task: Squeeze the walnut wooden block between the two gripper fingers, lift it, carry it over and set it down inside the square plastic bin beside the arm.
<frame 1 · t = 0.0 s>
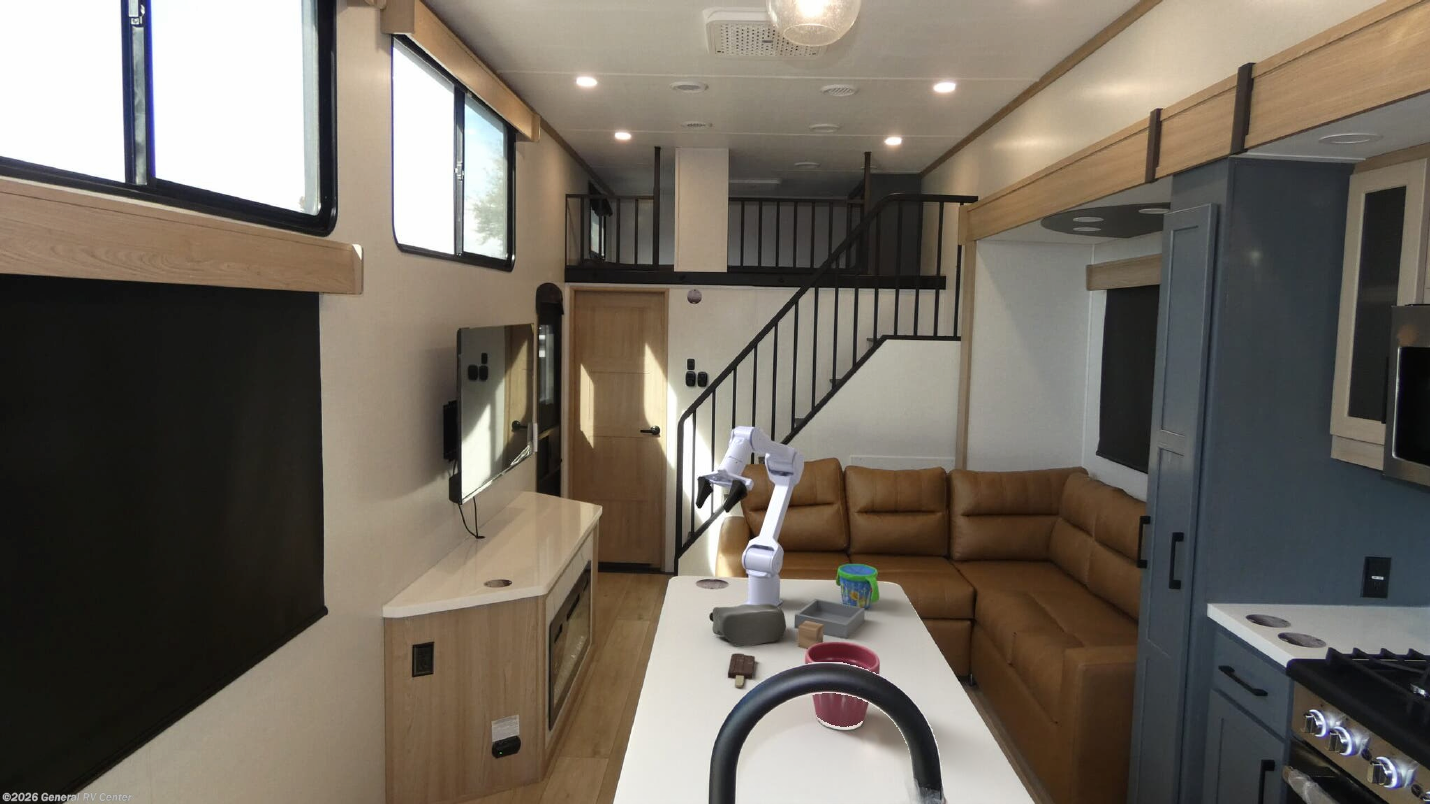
hand: (711, 508, 188), 32 cm above the countertop, tool tilted 50°, fingers open, 7 cm apart
grey rounded lump: (746, 637, 193), on the countertop
plant pot: (840, 720, 153), on the countertop
ice cream bar: (740, 675, 173), on the countertop
walnut block: (810, 645, 188), on the countertop
snack cup: (856, 606, 216), on the countertop
bin: (829, 624, 202), on the countertop
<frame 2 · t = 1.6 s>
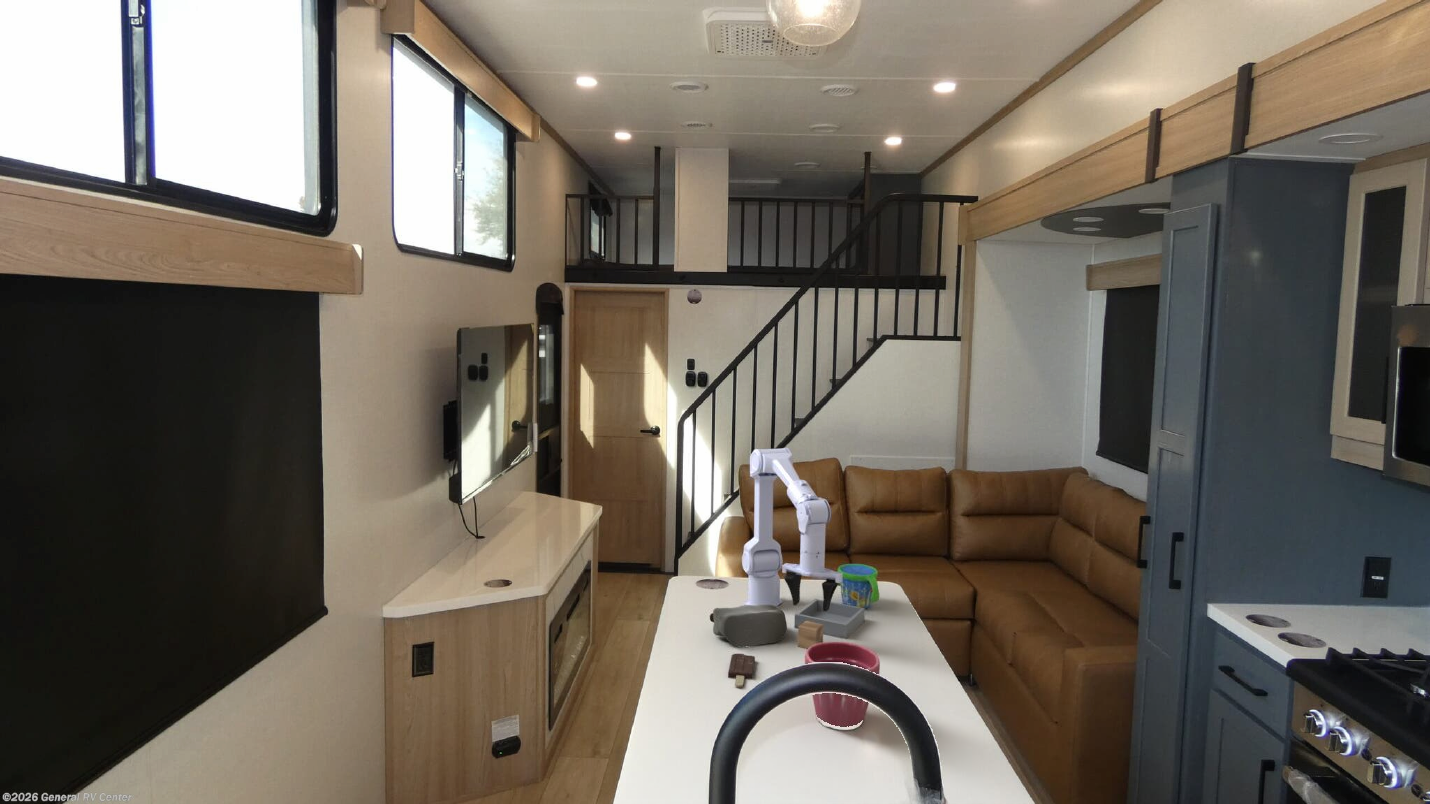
hand: (811, 606, 187), 9 cm above the countertop, tool pointing down, fingers open, 7 cm apart
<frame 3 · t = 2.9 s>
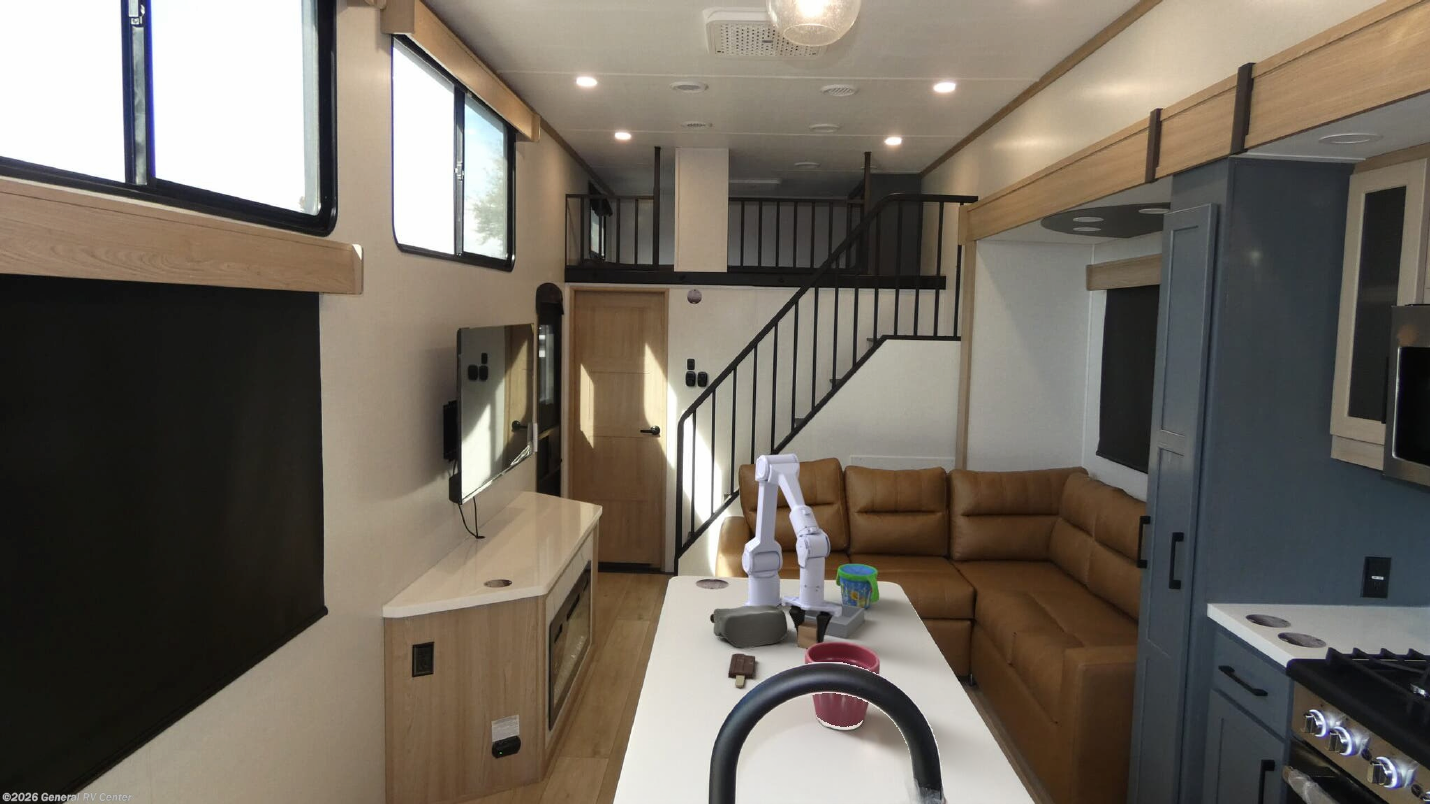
hand: (810, 639, 188), 1 cm above the countertop, tool pointing down, fingers closed on walnut block, 4 cm apart
walnut block: (810, 645, 188), on the countertop, touching gripper
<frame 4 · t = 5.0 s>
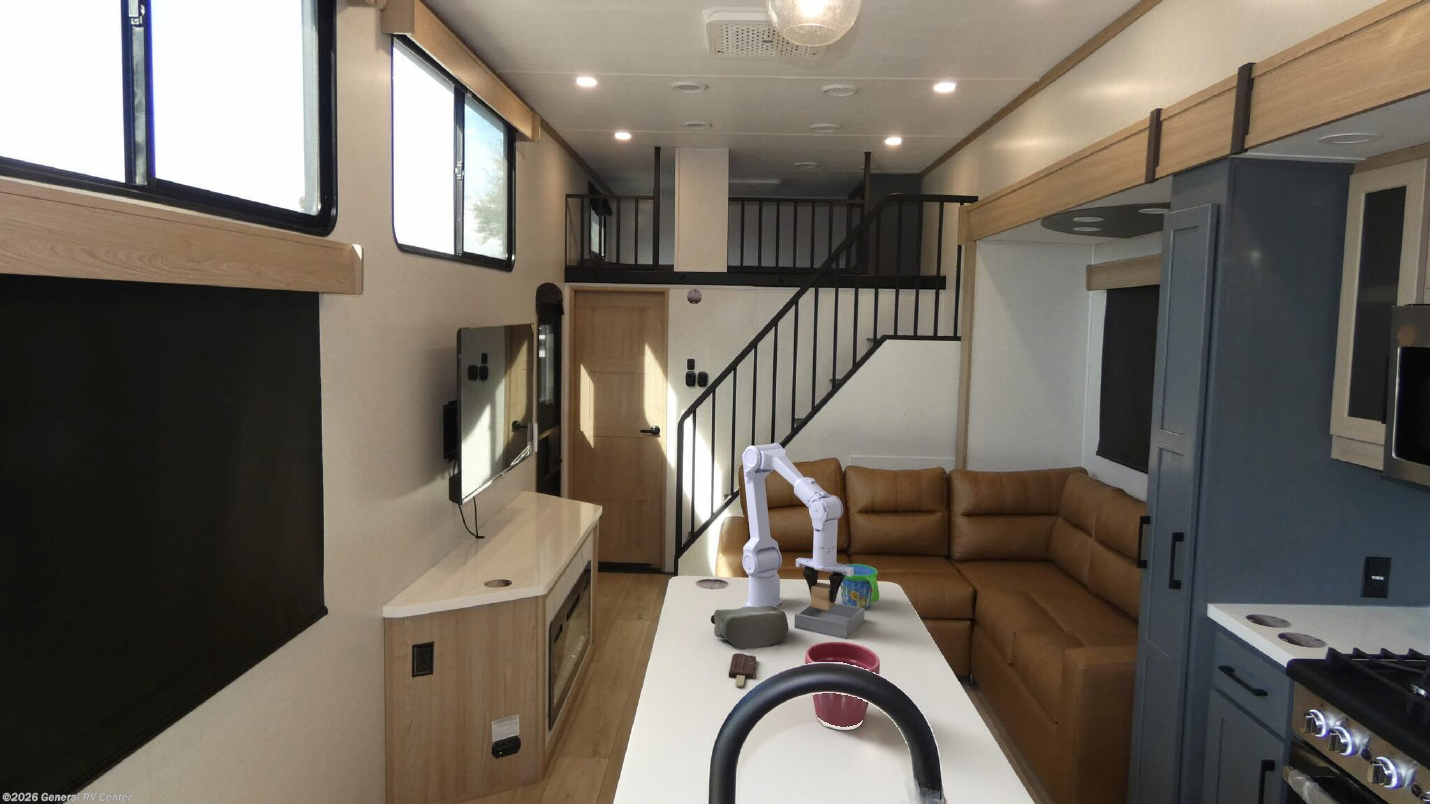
hand: (823, 599, 196), 8 cm above the countertop, tool pointing down, fingers closed on walnut block, 4 cm apart
walnut block: (822, 605, 196), point 7 cm above the countertop, touching gripper
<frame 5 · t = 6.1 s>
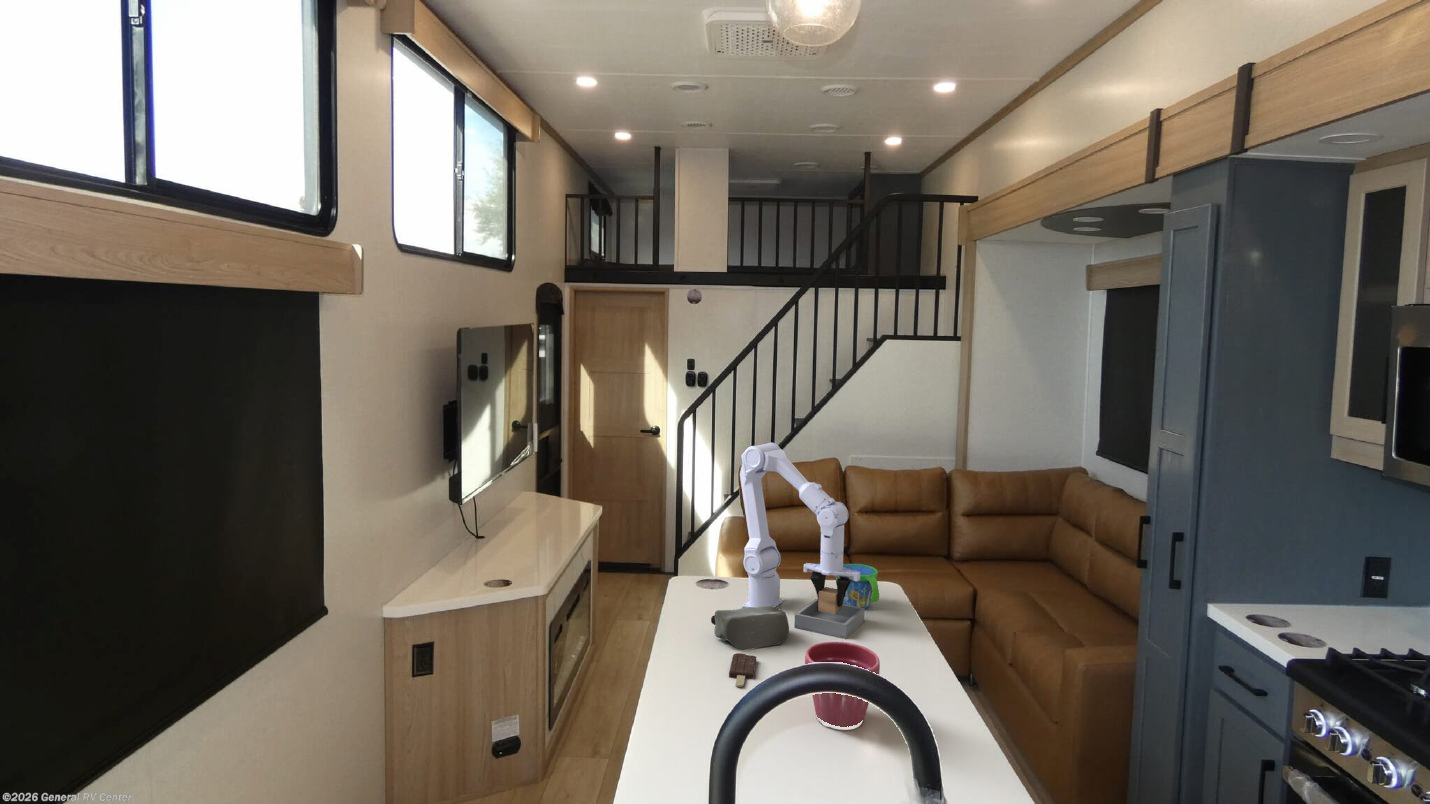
hand: (830, 603, 201), 6 cm above the countertop, tool pointing down, fingers closed on walnut block, 4 cm apart
walnut block: (829, 610, 201), point 4 cm above the countertop, touching gripper
when the fingers open (4 cm above the countertop, at t = 7.0 s): walnut block drops 1 cm, resting on bin.
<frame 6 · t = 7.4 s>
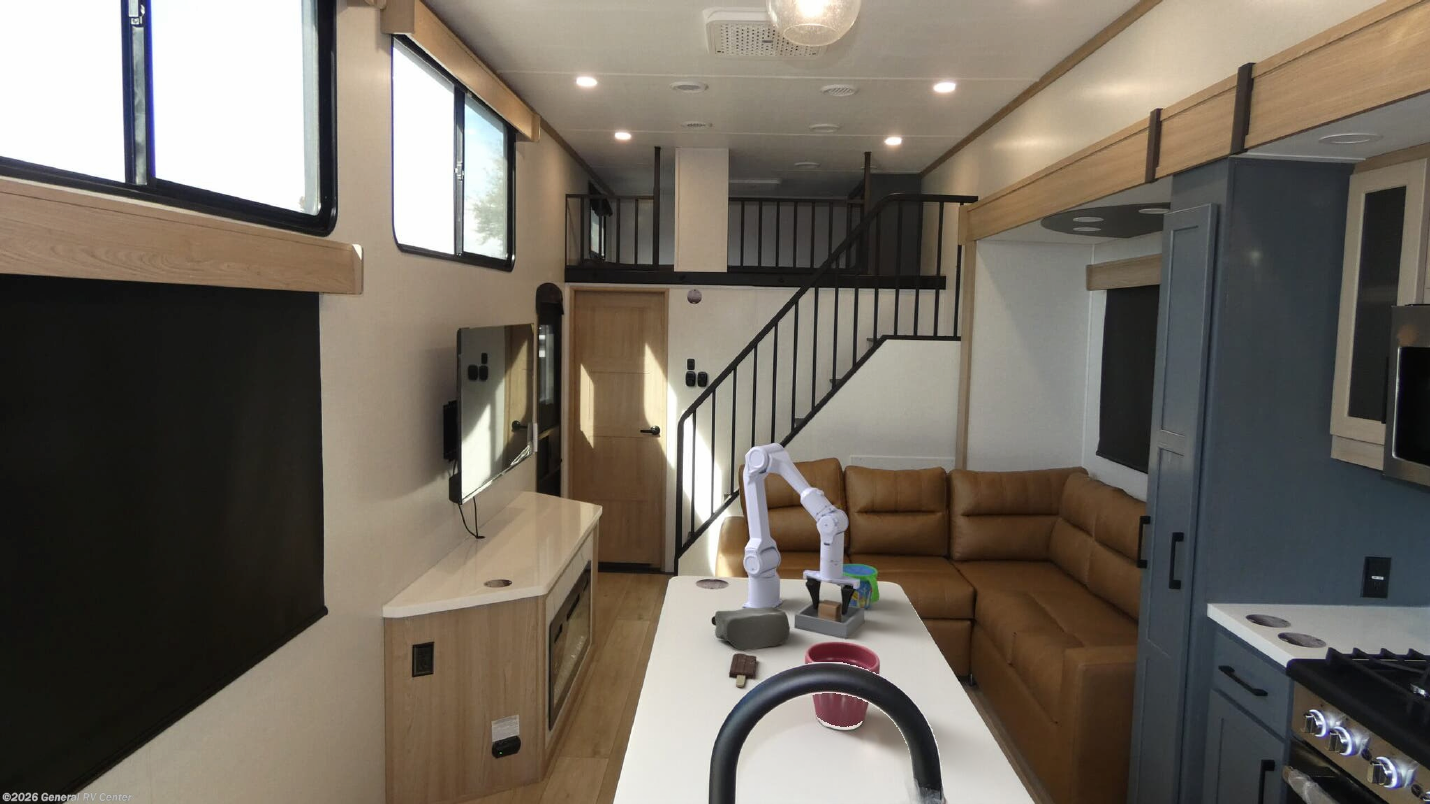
hand: (830, 610, 201), 4 cm above the countertop, tool pointing down, fingers open, 7 cm apart
walnut block: (829, 622, 201), point 1 cm above the countertop, touching bin
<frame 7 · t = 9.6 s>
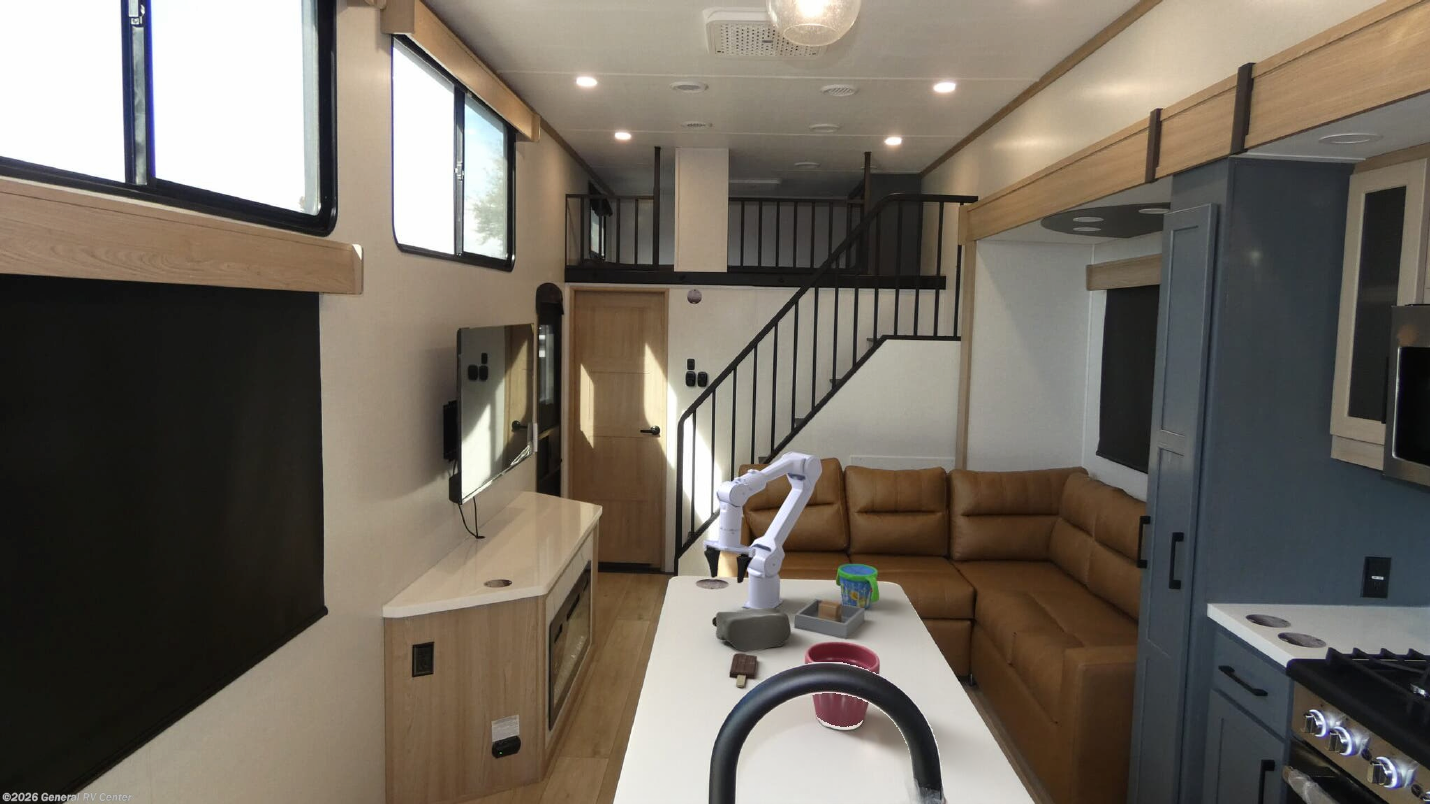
hand: (727, 579, 206), 10 cm above the countertop, tool pointing down, fingers open, 7 cm apart
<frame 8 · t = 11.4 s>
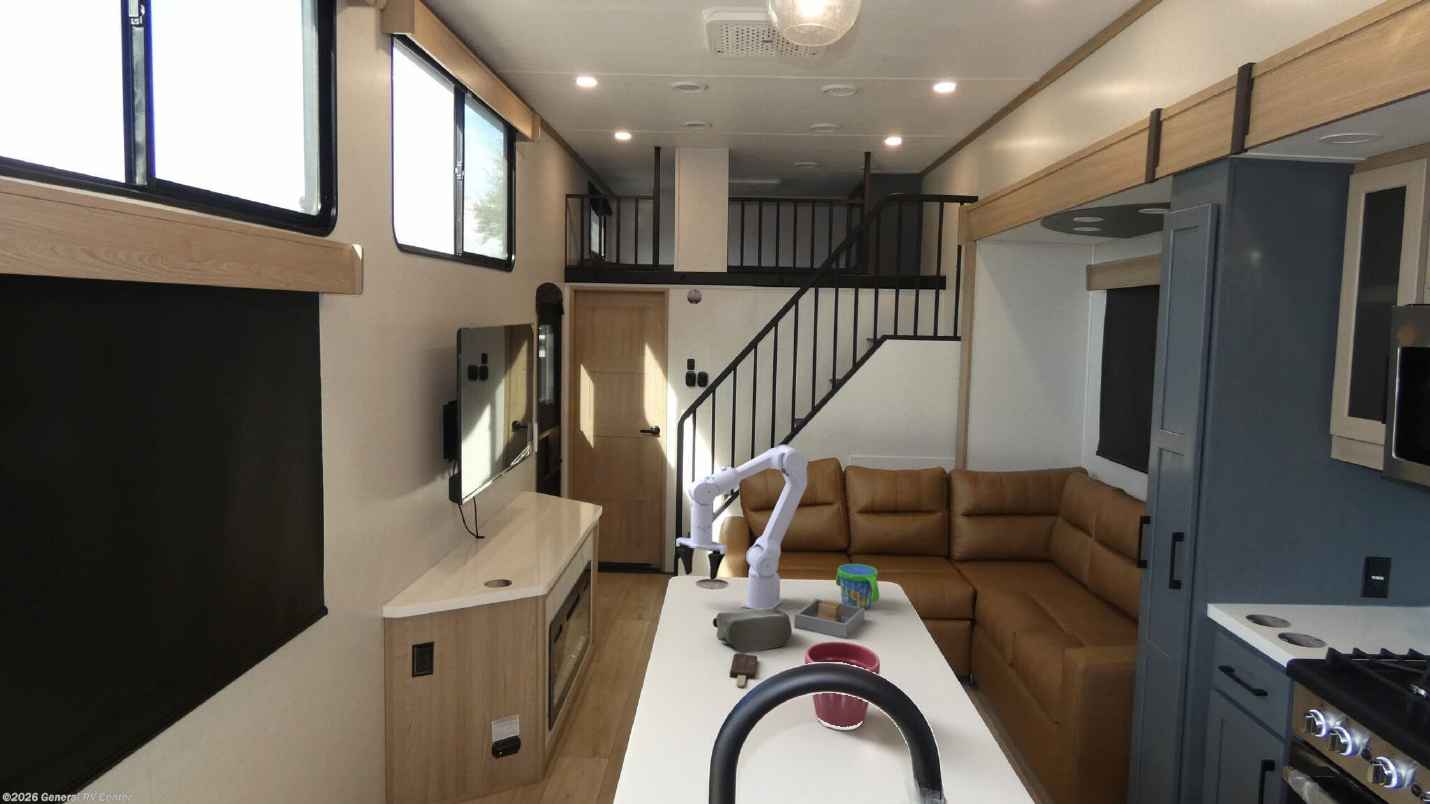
hand: (700, 576, 209), 9 cm above the countertop, tool pointing down, fingers open, 7 cm apart
at the end: walnut block inside the target area on the bin (0.3 cm from its centre), point 0.6 cm above the bin's base; the gripper is holding nothing; walnut block tilted 0° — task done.
